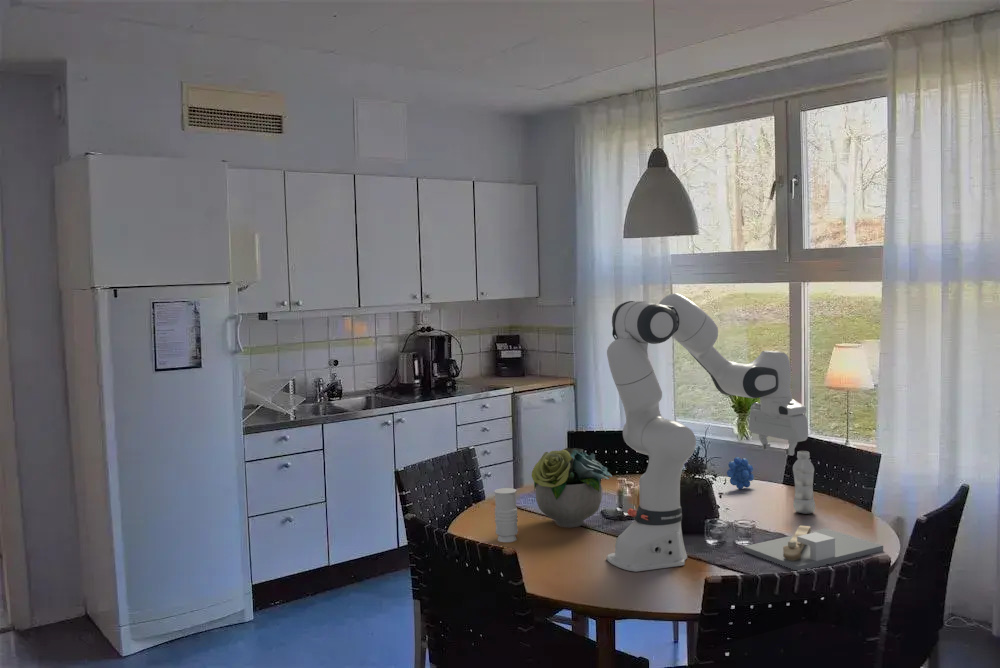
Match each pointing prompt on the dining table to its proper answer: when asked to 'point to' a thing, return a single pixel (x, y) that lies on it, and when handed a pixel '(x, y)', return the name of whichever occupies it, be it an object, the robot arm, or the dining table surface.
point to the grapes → (740, 473)
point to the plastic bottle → (803, 484)
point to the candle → (506, 514)
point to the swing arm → (796, 552)
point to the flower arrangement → (568, 485)
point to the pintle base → (805, 562)
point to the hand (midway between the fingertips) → (778, 452)
